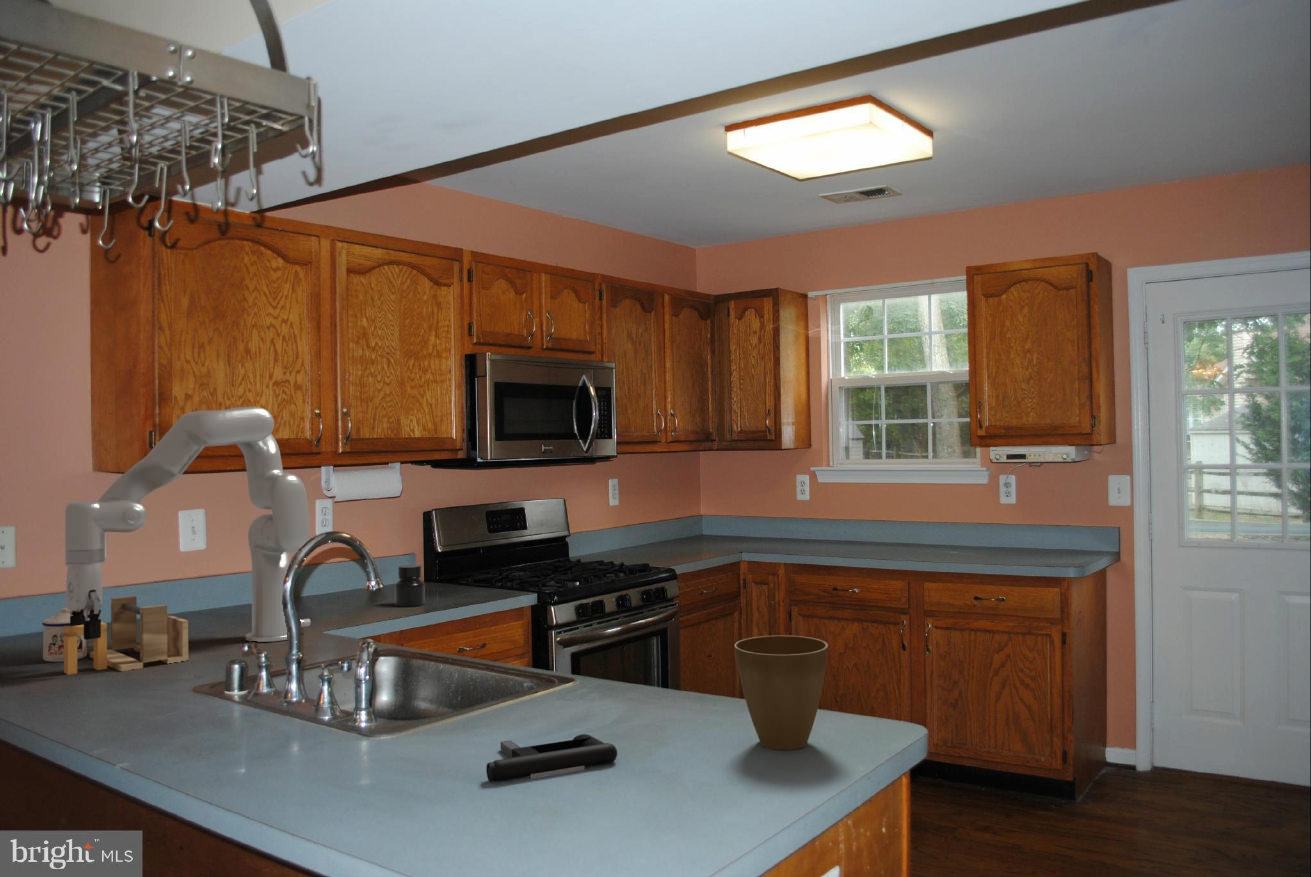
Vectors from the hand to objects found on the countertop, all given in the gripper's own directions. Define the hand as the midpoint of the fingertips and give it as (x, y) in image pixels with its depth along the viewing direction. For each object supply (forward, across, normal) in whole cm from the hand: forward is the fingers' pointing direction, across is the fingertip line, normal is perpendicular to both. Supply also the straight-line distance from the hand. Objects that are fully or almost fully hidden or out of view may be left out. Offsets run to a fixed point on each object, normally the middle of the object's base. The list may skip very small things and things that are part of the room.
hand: (85, 635), depth 210 cm
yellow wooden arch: (+8, 0, 0) cm, 8 cm away
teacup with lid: (+8, -18, +2) cm, 20 cm away
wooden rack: (+8, -4, +12) cm, 15 cm away
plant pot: (+8, +144, +60) cm, 156 cm away
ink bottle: (+8, -24, +96) cm, 99 cm away
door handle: (+8, +122, +29) cm, 126 cm away
